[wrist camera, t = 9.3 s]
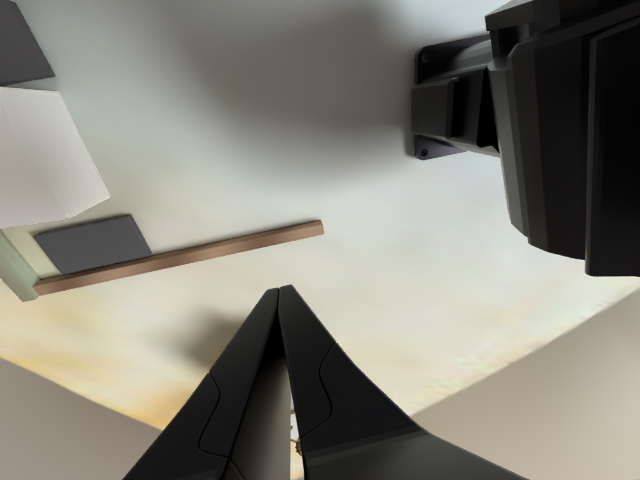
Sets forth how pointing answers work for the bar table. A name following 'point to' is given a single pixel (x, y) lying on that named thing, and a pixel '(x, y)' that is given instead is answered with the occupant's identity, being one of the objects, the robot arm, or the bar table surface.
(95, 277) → the wood-trimmed serving tray
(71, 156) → the block
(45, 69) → the dark grey rectangular slab
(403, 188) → the bar table surface
